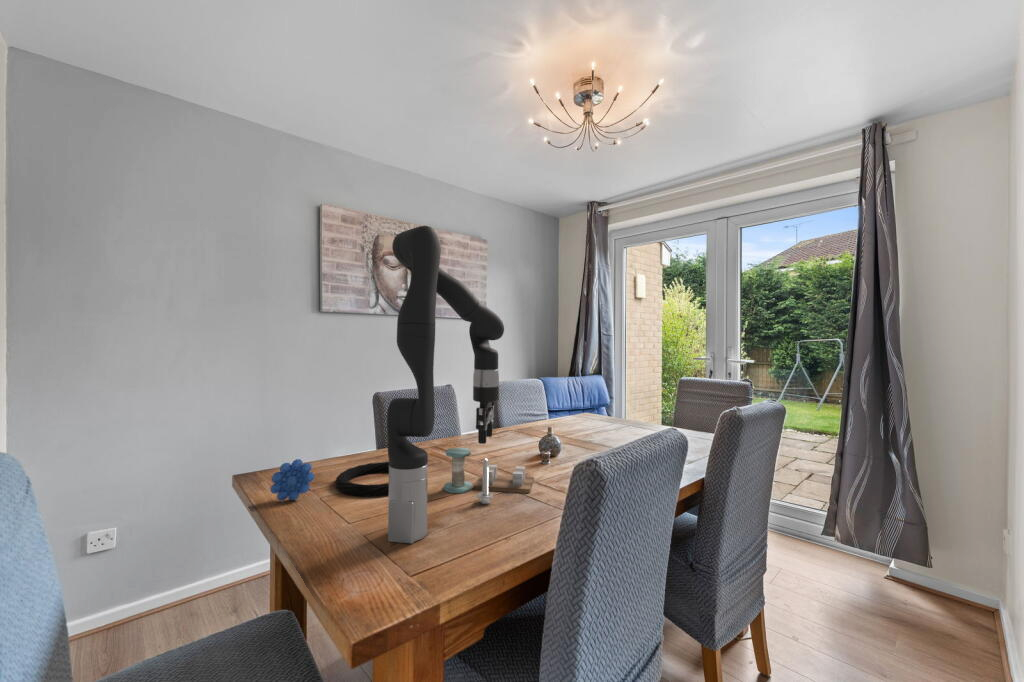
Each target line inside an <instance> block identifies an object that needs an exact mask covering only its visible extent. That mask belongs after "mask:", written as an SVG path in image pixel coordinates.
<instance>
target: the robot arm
mask: <svg viewBox="0 0 1024 682" xmlns="http://www.w3.org/2000/svg"><path fill="white" fill-rule="evenodd" d="M441 245H442V244H441V240H440V236H439V234H438V233H437V231H436V230H435V229H434V228H433V227H431V226H428V225H420V226H415V227H413V228H410V229H407V230H404V231H402V232H399V233H397V235H396V236H395V237H394V238H393V241H392V251H393V254H394V257H395V258H396V260H397V261H398V262H399V264H401V265H402V266H403V267H405V268H406V269H407V270H409V271H410V272H411V274H410V275H411V276H410V283H409V286H408V290H407V292H406V295H405V296H404V299H403V301H402V303H401V307H400V308H399V311H398V315H397V321H396V322H397V323H396V344H397V345H396V346H397V348H398V351H399V353H400V354H401V356H402V358H403V359H404V361H405V363H406V365H407V366H408V368H409V369H410V371H411V373H412V375H413V377H414V379H415V383H416V388H417V394H418V395H417V396H418V397H417V398H416V397H415V398H414V397H413V398H411V397H395V398H393V399H392V400H391V401H390V402H389V404H388V407H387V412H386V432H387V433H386V435H387V436H386V437H387V456H388V462H389V472H388V483H389V495H388V503H387V504H388V510H387V511H388V512H387V513H388V516H387V518H388V519H387V520H388V523H387V527H388V528H387V542H391V543H403V544H414V542H417V541H420V540H422V539H424V538H425V537H426V536H427V534H428V470H429V469H428V464H429V463H428V462H429V461H428V460H429V457H428V456H429V455H428V452H427V451H426V450H425V449H423V448H421V447H420V446H417V445H415V444H413V443H412V442H411V441H410V440H409V439H408V438H407V437H412V438H415V437H416V438H426V437H429V436H430V435H432V434H433V431H434V427H435V421H436V420H435V419H436V413H435V411H436V409H435V406H436V405H435V383H434V369H435V368H434V366H435V365H434V363H435V362H434V361H435V345H436V344H435V343H436V307H437V294H438V296H440V297H441V298H442V299H443V300H444V301H445V302H446V303H447V304H448V305H449V306H450V308H451V309H453V311H454V312H455V313H456V314H457V315H458V316H459V318H461V319H462V320H463V321H465V322H468V323H470V324H469V333H468V335H469V339H470V343H471V347H472V351H473V356H474V357H473V358H474V359H473V361H474V363H473V364H474V365H473V377H472V378H473V380H472V383H473V384H472V400H473V401H474V402H477V403H479V407H476V409H475V412H476V413H475V414H476V415H475V418H476V419H475V429H476V430H477V431H478V432H477V433H478V434H477V436H478V438H477V440H478V441H477V442H478V444H482V445H485V444H486V443H487V438H492V437H493V424H494V422H495V419H496V418H495V404H496V403H495V402H498V401H499V400H500V395H499V394H500V375H499V351H498V350H497V349H494V348H493V347H491V345H490V341H497V340H499V339H501V338H502V336H503V335H504V333H505V325H504V322H503V320H502V319H501V318H500V316H498V314H497V313H495V312H494V311H493V310H491V309H490V308H489V307H488V306H486V305H485V304H483V303H482V302H481V301H480V300H479V299H478V297H477V296H476V295H475V294H474V293H473V292H472V291H471V289H470V288H469V287H468V286H466V284H465V283H464V282H461V280H459V279H458V278H455V277H454V276H453V275H451V274H449V273H447V272H446V271H444V270H443V269H442V268H440V263H441V256H442V255H441V254H442V246H441Z"/></svg>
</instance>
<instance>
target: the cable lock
mask: <svg viewBox="0 0 1024 682" xmlns="http://www.w3.org/2000/svg"><path fill="white" fill-rule="evenodd" d="M379 473H389V461H383V462H374V463H372V462H370V463H366V464H359V465H357V466H356V465H355V466H353V467H350V468H347V469H346V470H344V471H342V472H340V473H339V475H338V476H337V477H335V478H336V479H335V481H334V484H335V487H336V489H337V490H338V491H339V492H341V493H343V494H346V495H350V496H355V497H363V498H364V497H368V498H370V497H374V498H375V497H381V496H389V482H387V483H386V482H385V483H380V484H362V483H361V484H360V483H354V482H351V481H350V480H352V479H354V478H357V477H361V476H365V475H369V474H379Z"/></svg>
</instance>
